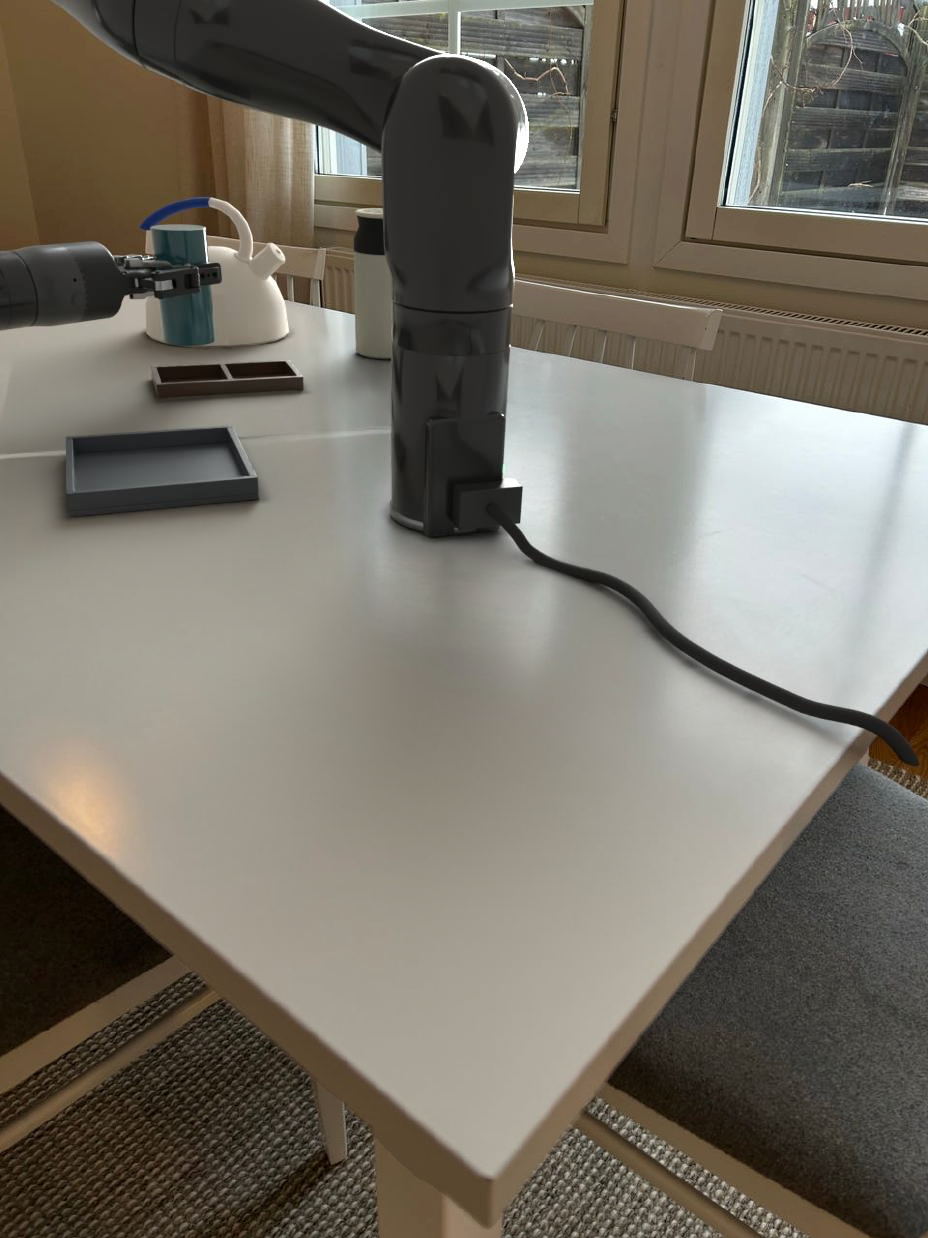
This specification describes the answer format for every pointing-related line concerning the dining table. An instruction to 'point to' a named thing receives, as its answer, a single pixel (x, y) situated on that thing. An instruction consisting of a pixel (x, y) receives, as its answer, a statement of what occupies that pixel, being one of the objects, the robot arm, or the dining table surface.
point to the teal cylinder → (189, 313)
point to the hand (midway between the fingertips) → (200, 268)
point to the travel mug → (371, 287)
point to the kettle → (233, 285)
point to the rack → (225, 378)
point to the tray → (156, 470)
